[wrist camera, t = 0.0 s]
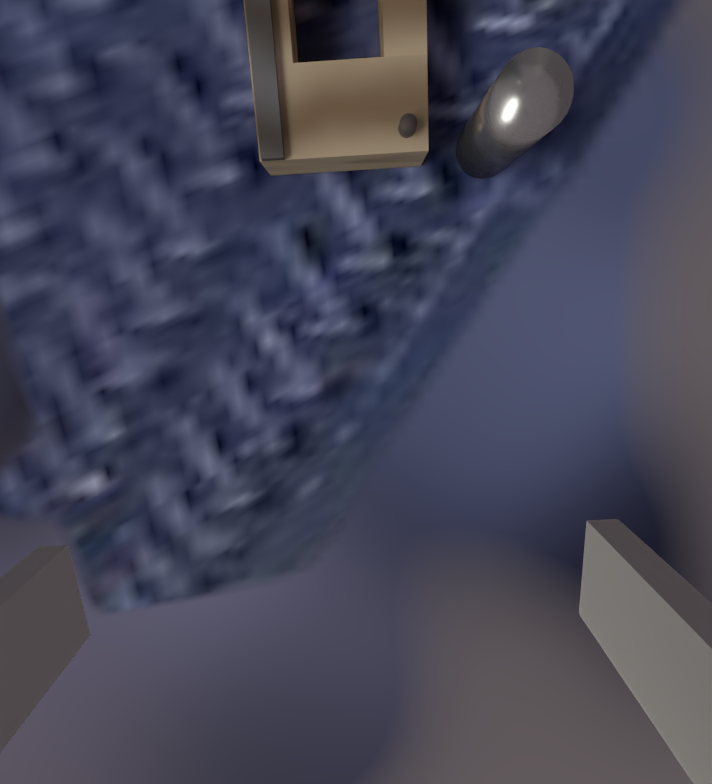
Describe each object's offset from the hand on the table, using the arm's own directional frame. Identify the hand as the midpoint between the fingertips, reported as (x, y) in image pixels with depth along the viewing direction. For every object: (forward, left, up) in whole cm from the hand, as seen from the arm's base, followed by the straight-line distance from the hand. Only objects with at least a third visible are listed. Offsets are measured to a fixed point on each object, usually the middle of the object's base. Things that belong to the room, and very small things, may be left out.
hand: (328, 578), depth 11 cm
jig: (-25, +1, -28) cm, 38 cm away
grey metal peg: (-17, +12, -28) cm, 35 cm away
